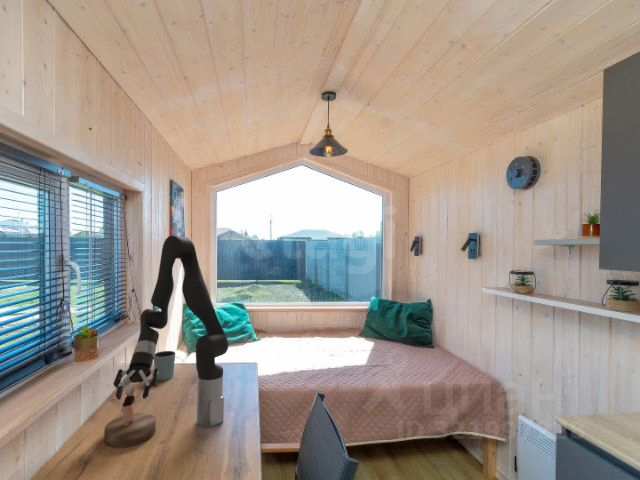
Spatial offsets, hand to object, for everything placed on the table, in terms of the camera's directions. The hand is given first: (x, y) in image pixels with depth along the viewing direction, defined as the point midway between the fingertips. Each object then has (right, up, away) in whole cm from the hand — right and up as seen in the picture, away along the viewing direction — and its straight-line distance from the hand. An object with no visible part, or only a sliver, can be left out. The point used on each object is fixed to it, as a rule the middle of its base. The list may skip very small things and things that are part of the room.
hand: (131, 398), depth 129 cm
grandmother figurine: (-2, -9, +2) cm, 10 cm away
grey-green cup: (-12, -14, +55) cm, 58 cm away
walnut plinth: (0, -13, 0) cm, 13 cm away
